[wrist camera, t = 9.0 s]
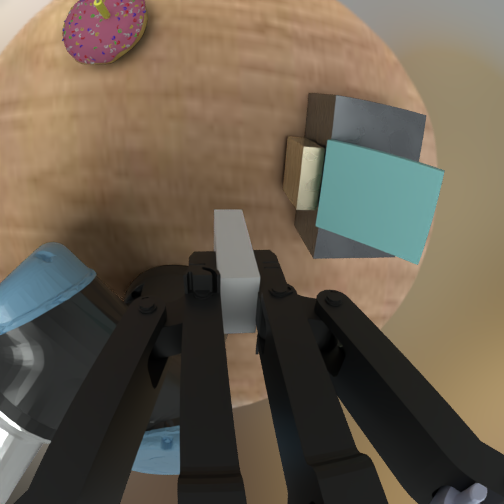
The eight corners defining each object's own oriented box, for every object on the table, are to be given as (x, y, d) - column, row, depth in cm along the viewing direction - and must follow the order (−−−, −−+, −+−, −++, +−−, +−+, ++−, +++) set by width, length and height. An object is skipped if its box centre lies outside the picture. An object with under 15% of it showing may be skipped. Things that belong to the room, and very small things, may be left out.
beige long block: (282, 189, 34) (296, 209, 29) (287, 136, 31) (303, 146, 26) (393, 196, 36) (419, 215, 31) (402, 150, 33) (431, 164, 28)
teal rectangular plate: (320, 223, 29) (315, 226, 28) (332, 139, 25) (327, 139, 24) (419, 260, 24) (417, 264, 23) (444, 170, 20) (443, 172, 19)
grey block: (294, 225, 38) (313, 258, 31) (308, 92, 30) (336, 95, 23) (365, 226, 39) (394, 257, 32) (386, 106, 31) (426, 115, 24)
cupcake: (151, -11, 22) (123, -54, 11) (160, 55, 26) (132, 37, 16) (77, 13, 21) (23, -10, 11) (86, 77, 26) (29, 78, 15)
